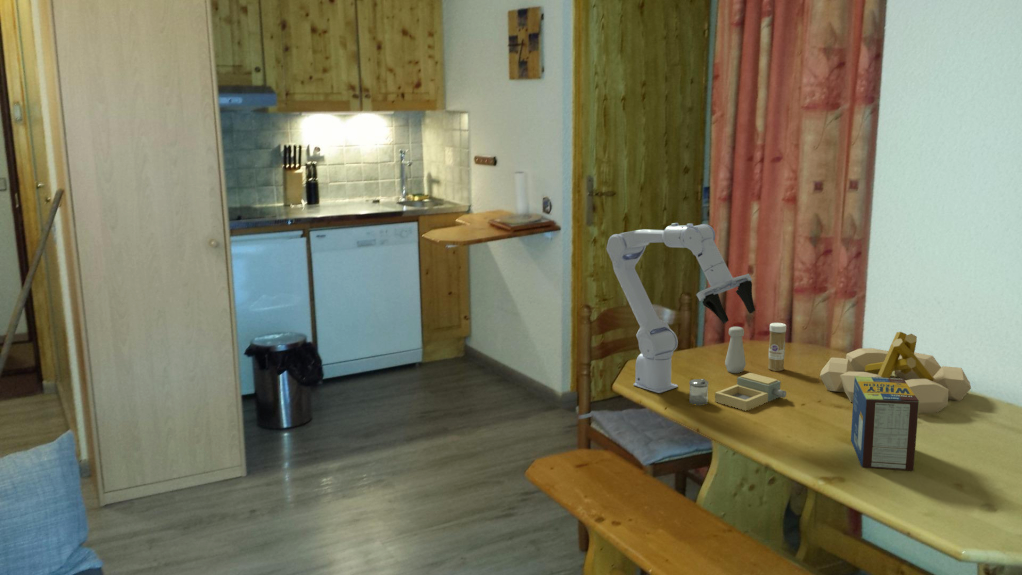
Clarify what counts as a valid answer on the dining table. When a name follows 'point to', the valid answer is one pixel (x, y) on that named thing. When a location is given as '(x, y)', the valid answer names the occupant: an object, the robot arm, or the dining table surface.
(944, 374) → the campfire
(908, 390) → the protein box
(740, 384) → the drawer
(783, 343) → the sprinkles bottle
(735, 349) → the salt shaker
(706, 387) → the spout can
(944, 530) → the dining table surface
